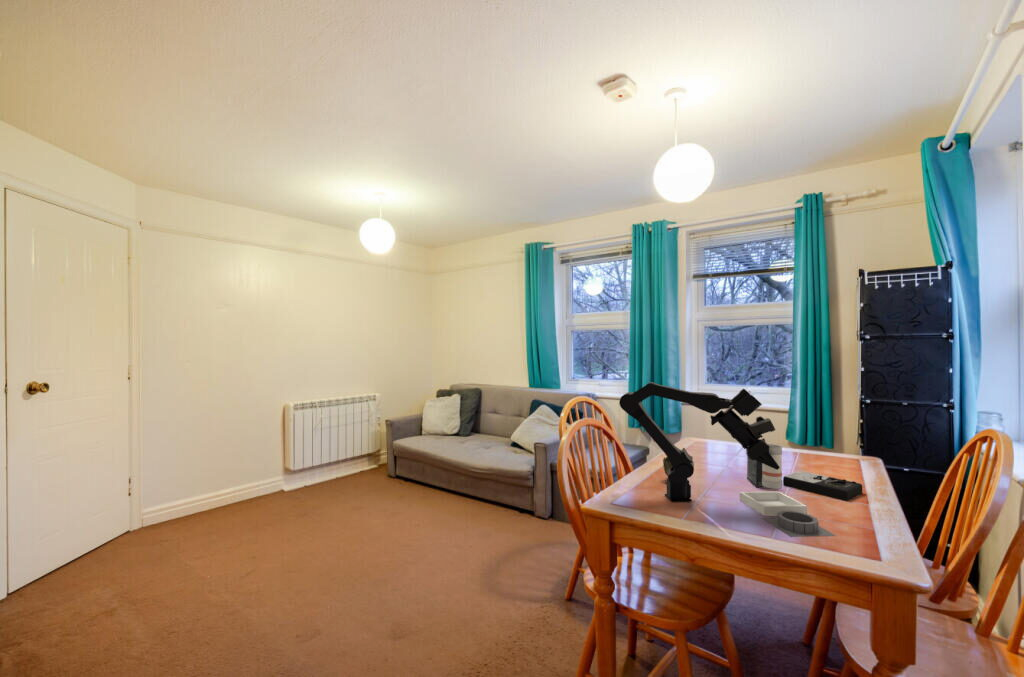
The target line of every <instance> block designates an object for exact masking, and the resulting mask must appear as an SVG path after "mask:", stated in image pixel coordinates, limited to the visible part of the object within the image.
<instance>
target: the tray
mask: <svg viewBox="0 0 1024 677" xmlns="http://www.w3.org/2000/svg"><path fill="white" fill-rule="evenodd" d="M739 501H740V502H741V503H743V504H745V505H747V506H748V507H750V508H751V509H753V510H754V511H756V512H757V513H759V514H760V515H762V516H764V517H767V516H768V517H769V516H772V517H773V516H775V517H778V515H777V513H778V512H780V511H796V512H800V513H801V512H802V513H805V514H808V506H807V505H805V504H804V503H802V502H801V501H799V500H797V499H795V498H792V497H791V496H788V495H786V494H784V493H782V492H781V491H739Z"/></svg>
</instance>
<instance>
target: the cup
mask: <svg viewBox="0 0 1024 677" xmlns="http://www.w3.org/2000/svg"><path fill="white" fill-rule="evenodd" d="M662 464H663V470H664V473H665V475H666V476H667V477H668V472H669V469H670V468H671V467H672V466H671V464H670V462H669V460H668V458H667V456H666V457H663V459H662Z"/></svg>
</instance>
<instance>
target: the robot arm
mask: <svg viewBox="0 0 1024 677" xmlns="http://www.w3.org/2000/svg"><path fill="white" fill-rule="evenodd" d="M651 396H656V397H659V398H663V399H667V400H672V401H675V402H676V401H677V402H680V403H684V404H688V405H690V406H693V407H695V408H697V409H699V410H701V411H704V412H706V413H709V414H712V415H710V416H709V417H710V425H711V426H714V425H715V424H717V423H718V424H719V425H720V426H721V427H722V428H724V430H725V431H726V432H728V433H729V435H730V436H731V438H733V439H735V441H737V443H738V444H740V445H741V447H742V449H744V450H745V453H746V456H748V457H749V458H750V459H751V460H752V461H753V460H756V461H759V462H761V463H763V464H765V465H768V466H770V467H772V468H774V469H776V470H778V469H779V468H780V467H779V465H778V464H777V463H776V461H775V460H774V459H773V457H772V456H771V455H770V453H769V445H768V444H769V443H767V442H766V439H765V437H764V436H763V435H764V434H766V433H770V432H771V433H772V432H775V431H776V428H775V426H774V423H773V422H772V420H771V418H768V417H765V418H764V417H762V416H757V417H756V418H755V421H754V422H753V423H751V424H750V423H748V421H745V420H743V419H742V417H745V416H746V417H749V416H750V415H752V414H753V413H755V411H756V410H758V409H759V408H760V407H761V406H762V405H763V404H762V403H761V402H760V400H758V399H757V398H756V397H755V396H754V395H753V394H751V393H750V392H748V390H746V389H745V388H742V389H740V391H739V392H738V393H737V394H736V395H734V396H733V398H732V399H729V398H724V397H719V395H717V393H713V392H704V391H703V392H701V391H700V392H699V391H689V390H684V389H680V388H677V387H671V386H666V385H662V384H660V383H659V384H658V383H655V382H653V381H650V382H648V383H646V384H645V385H644V386H643V387H641V388H638V389H637V390H635V391H633V392H631V391H630V392H626V393H624V394H623V395H621V397H620V398H619V401H618V402H619V407H620V408H621V409H622V410H623V411H624V412H625V413H626V414H628V415H629V416H630V417H632V418H633V419H634V420H636V421H637V422H638V424H640V425H641V427H642V428H643V429H644V430H645V432H646V433H647V434H648V435H649V436H650V438H652V440H653V441H654V442H655V443H656V445H657V446H658V448H660V449H661V451H662V452H663V453H664V454H665V456H666V457H667V458H668V460H669V462H670V464H671V466H672V467H671V468H670V469H669V472H668V476H667V478H666V493H664V496H665V497H666V498H667V499H668V500H670V502H672V503H686V502H687V503H691V502H693V500H692V498H691V497H692V486H691V484H690V480H689V478H691V477H692V476H693V475H694V472H695V463H694V460H693V459H694V458H693V456H691V455H690V454H689V453H688V451H687V449H686V448H685V447H683V448H682V449H680V448H678V447H677V446H676V445H675V444H674V443H673V442H672V440H671V439H670V438H669V437H668V436H667V435H666V434H665V432H664V431H663V430H662V429H661V428H660V426H658V424H657V423H656V421H654V419H653V418H652V417H651V416H650V414H648V412H647V410H646V409H645V407H644V405H643V403H642V402H644V401H645V400H647V399H648V398H649V397H651ZM734 410H735V411H736V412H735V411H734ZM737 413H738V414H739V415H738V414H737ZM713 414H715V415H713ZM740 416H741V417H740ZM763 437H764V438H763Z"/></svg>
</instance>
